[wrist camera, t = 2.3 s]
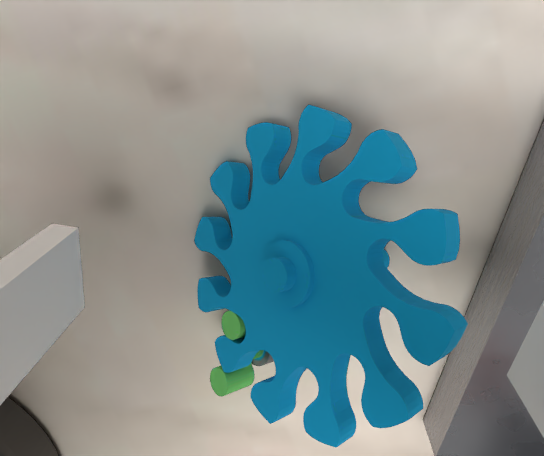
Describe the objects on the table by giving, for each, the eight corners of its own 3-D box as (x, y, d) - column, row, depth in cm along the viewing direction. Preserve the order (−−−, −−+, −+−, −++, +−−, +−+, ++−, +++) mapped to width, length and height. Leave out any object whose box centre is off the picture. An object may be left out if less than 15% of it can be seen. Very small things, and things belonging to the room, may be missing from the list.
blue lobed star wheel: (270, 33, 12) (567, 309, 7) (376, 81, 16) (607, 274, 11) (144, 277, 17) (260, 524, 13) (247, 265, 22) (364, 447, 17)
